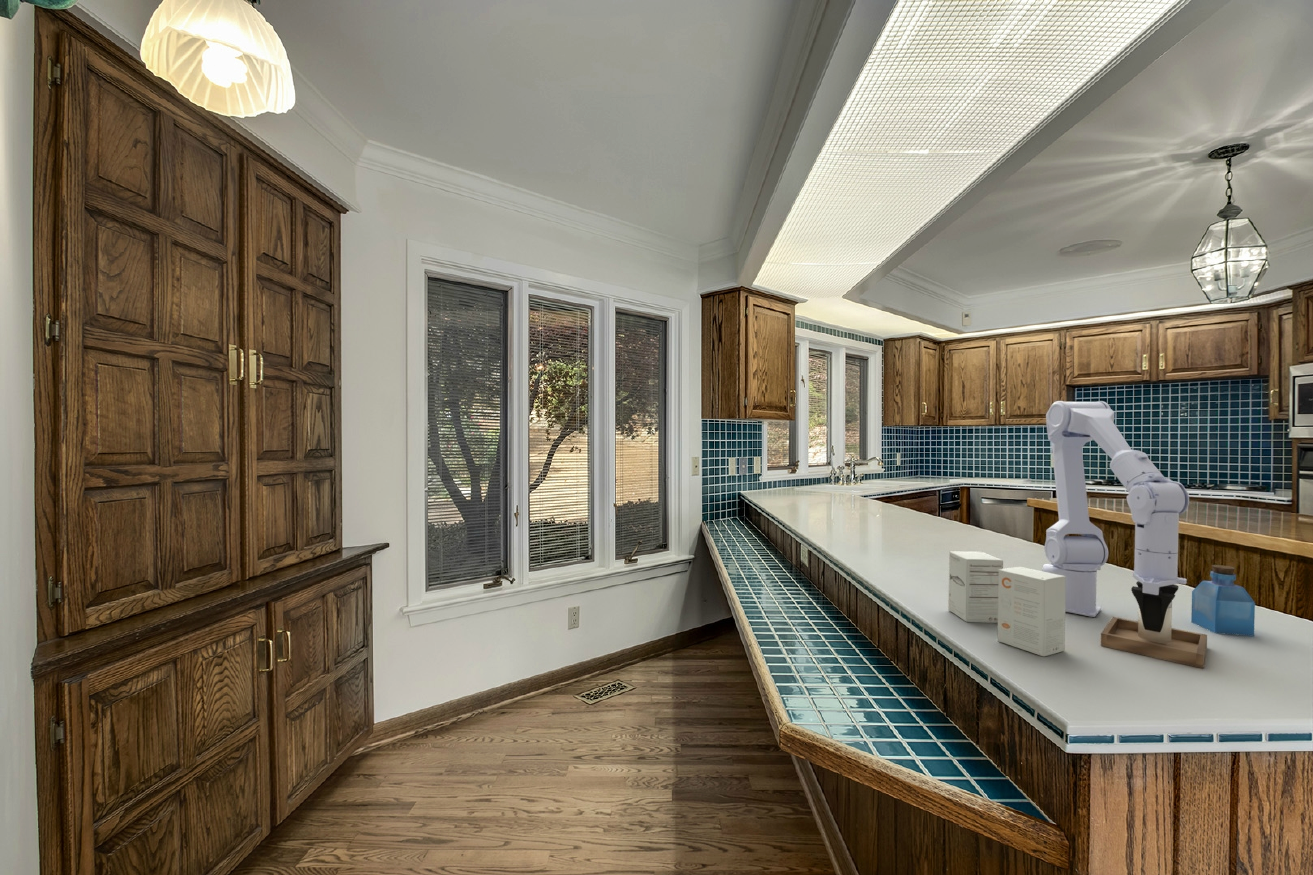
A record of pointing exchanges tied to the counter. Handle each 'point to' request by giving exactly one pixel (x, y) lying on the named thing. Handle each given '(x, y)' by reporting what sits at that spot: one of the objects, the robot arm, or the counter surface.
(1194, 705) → the counter surface
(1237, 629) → the perfume bottle
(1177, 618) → the counter surface
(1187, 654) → the walnut tray
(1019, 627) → the small box
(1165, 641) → the cylinder
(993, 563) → the supplement box
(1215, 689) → the counter surface
